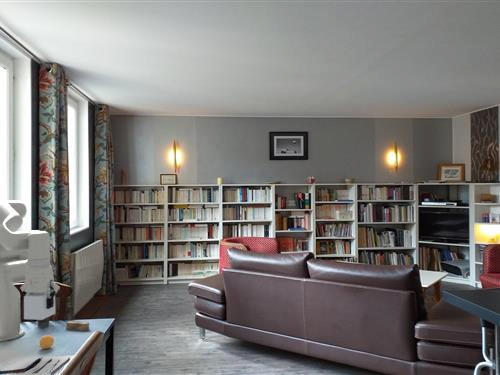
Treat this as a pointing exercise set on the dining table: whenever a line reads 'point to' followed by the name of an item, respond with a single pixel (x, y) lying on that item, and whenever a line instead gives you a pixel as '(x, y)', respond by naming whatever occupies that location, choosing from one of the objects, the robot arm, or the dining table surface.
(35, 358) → the dining table surface
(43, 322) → the beverage cup
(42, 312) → the white squarish block
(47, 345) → the ball
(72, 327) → the rail
